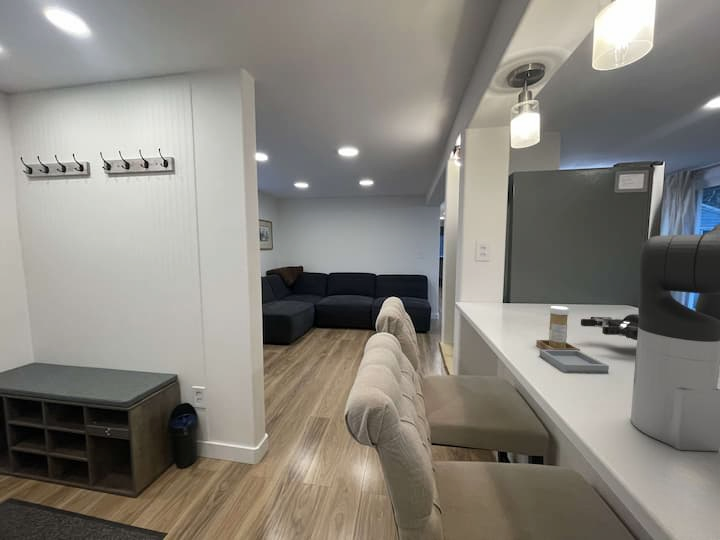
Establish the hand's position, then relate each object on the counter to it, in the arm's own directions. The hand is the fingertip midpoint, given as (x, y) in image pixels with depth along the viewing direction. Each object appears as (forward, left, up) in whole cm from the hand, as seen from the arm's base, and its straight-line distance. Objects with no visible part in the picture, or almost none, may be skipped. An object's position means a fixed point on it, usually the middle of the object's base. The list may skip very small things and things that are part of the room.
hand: (591, 326), depth 84 cm
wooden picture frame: (0, +10, -8) cm, 12 cm away
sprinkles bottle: (0, +10, -8) cm, 13 cm away
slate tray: (-10, +12, -8) cm, 18 cm away
